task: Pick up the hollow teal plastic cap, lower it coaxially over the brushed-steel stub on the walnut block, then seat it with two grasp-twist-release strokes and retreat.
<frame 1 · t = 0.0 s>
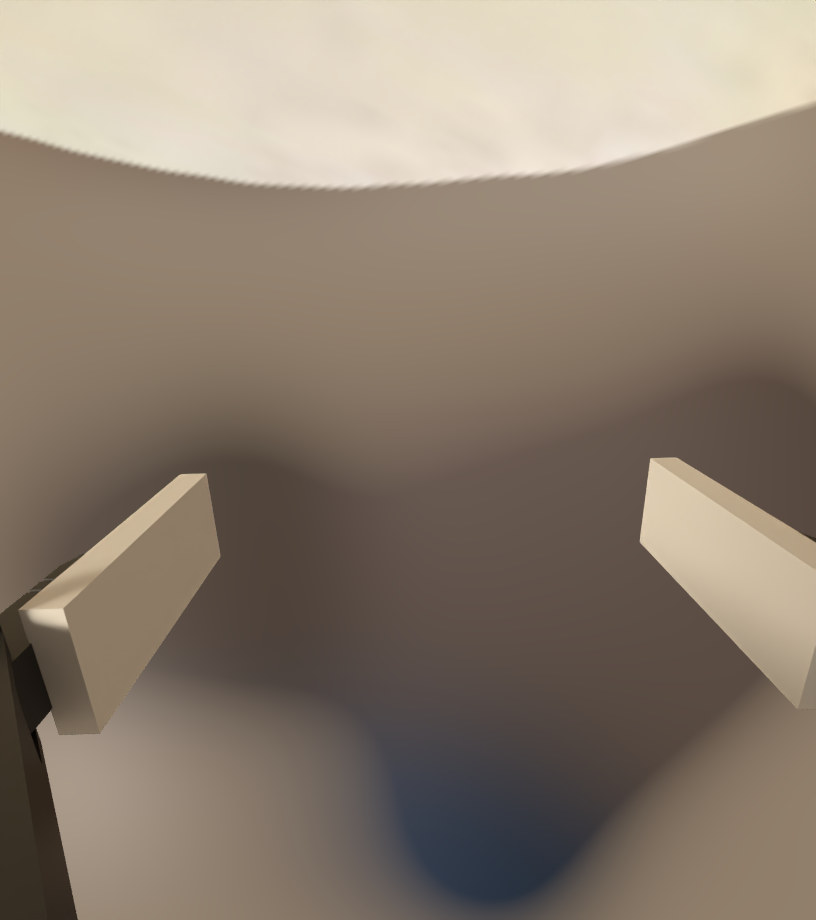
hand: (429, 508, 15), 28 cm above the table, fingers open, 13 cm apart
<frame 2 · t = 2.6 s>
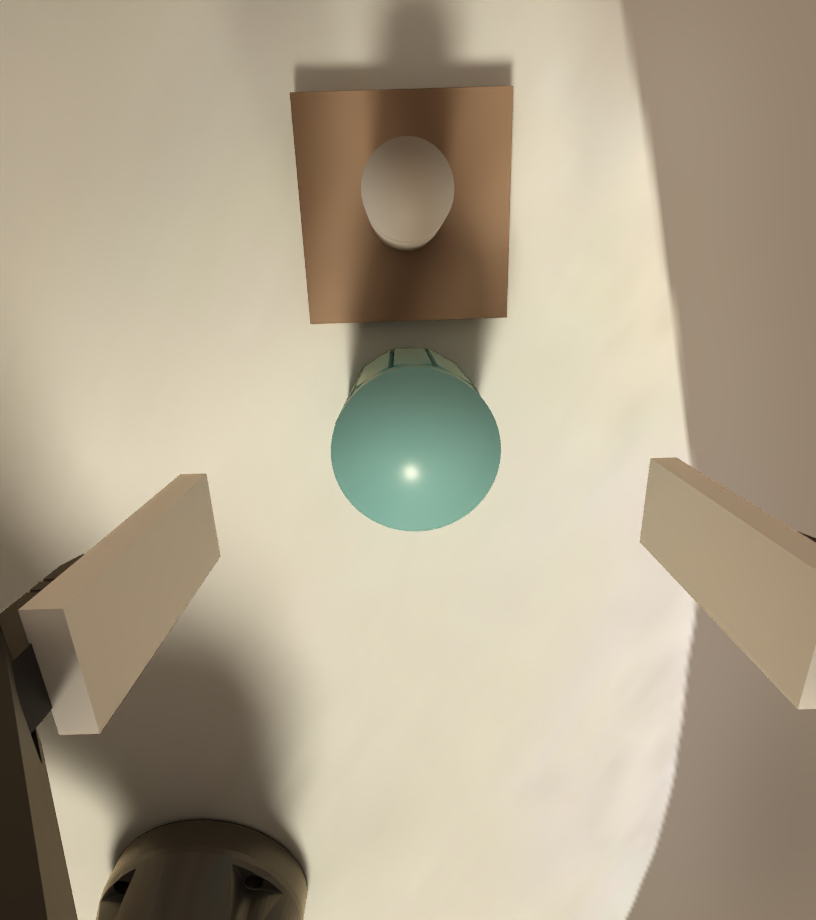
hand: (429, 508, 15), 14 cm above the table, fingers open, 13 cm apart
post base: (405, 216, 25), on the table
cap: (411, 411, 28), on the table
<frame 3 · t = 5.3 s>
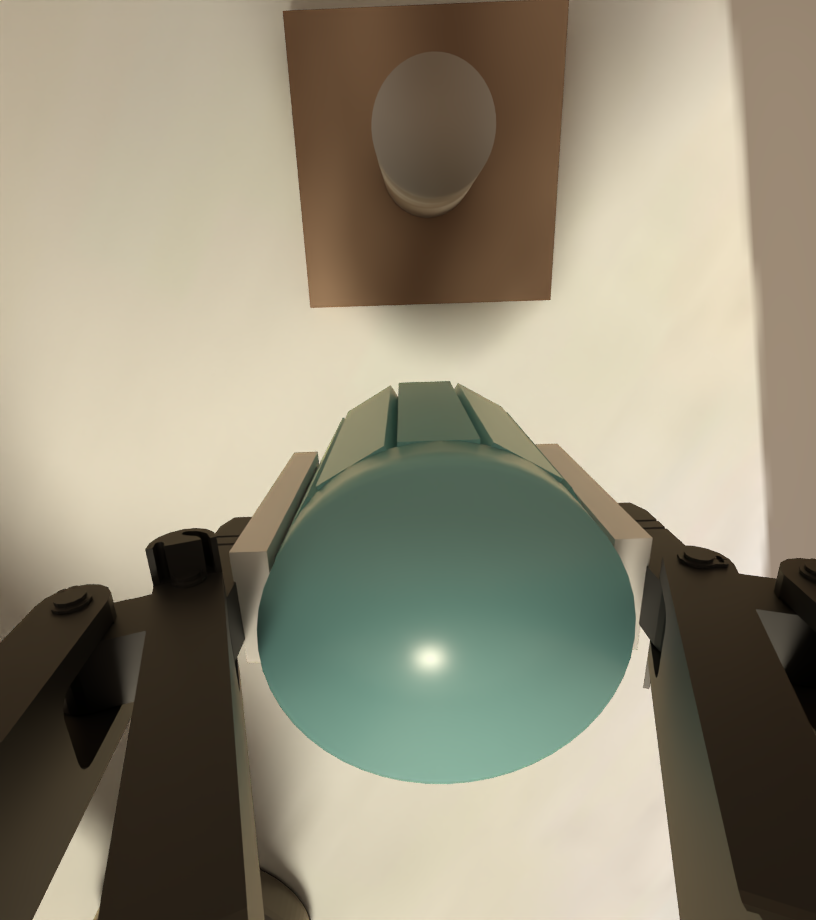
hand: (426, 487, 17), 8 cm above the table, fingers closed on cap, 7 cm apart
post base: (426, 173, 20), on the table
cap: (426, 485, 17), point 8 cm above the table, touching gripper
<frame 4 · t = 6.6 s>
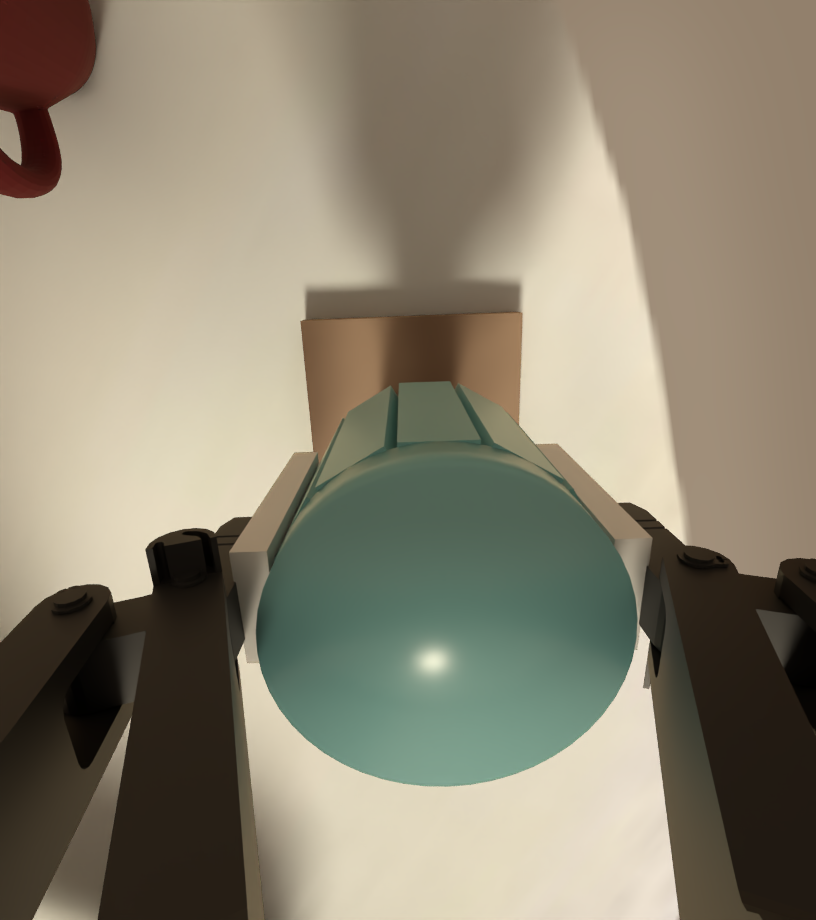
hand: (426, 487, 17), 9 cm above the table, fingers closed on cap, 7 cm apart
post base: (414, 418, 25), on the table
mug: (64, 76, 21), on the table
cap: (426, 486, 17), point 9 cm above the table, touching gripper
when the fingers open (3 cm above the table, at t = 8.4 s): cap drops 1 cm, resting on post base.
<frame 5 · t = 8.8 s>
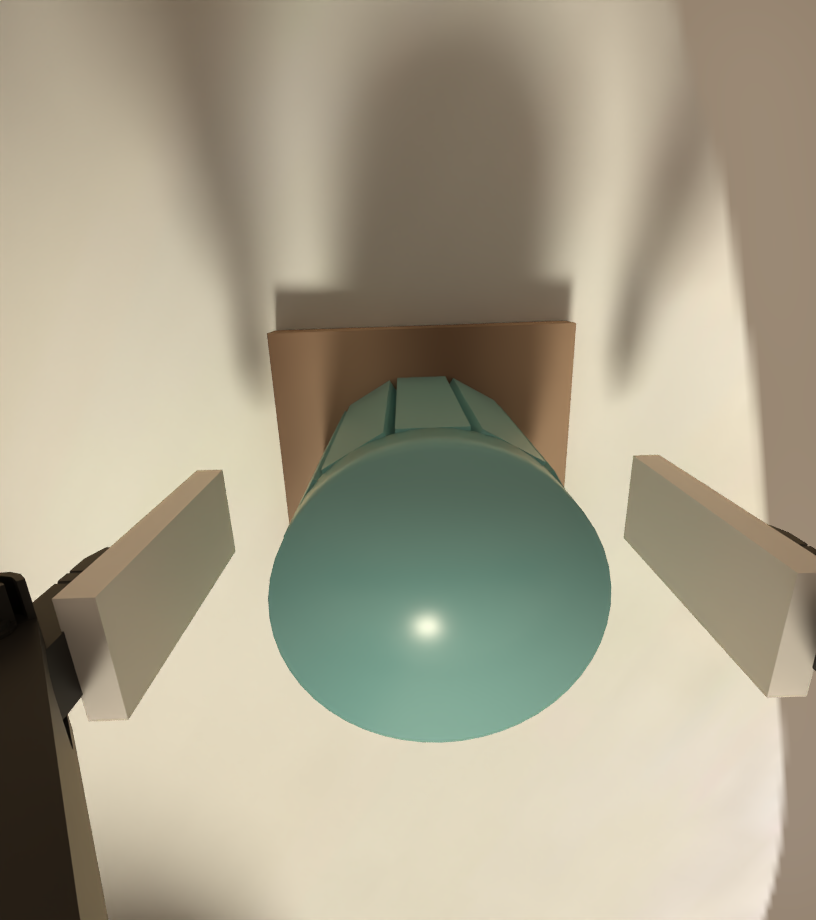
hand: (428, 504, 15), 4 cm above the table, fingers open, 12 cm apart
post base: (423, 462, 19), on the table
cap: (423, 475, 18), point 1 cm above the table, touching post base
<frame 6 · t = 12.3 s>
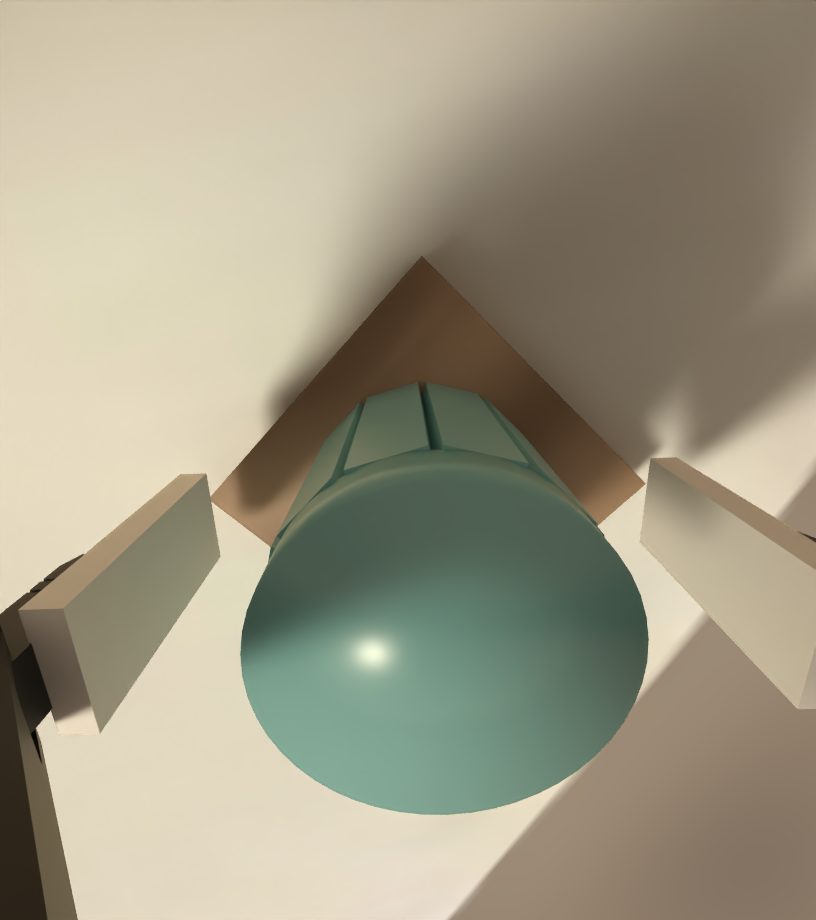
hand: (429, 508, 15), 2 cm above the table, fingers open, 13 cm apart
post base: (425, 478, 17), on the table
cap: (424, 492, 16), point 1 cm above the table, touching post base
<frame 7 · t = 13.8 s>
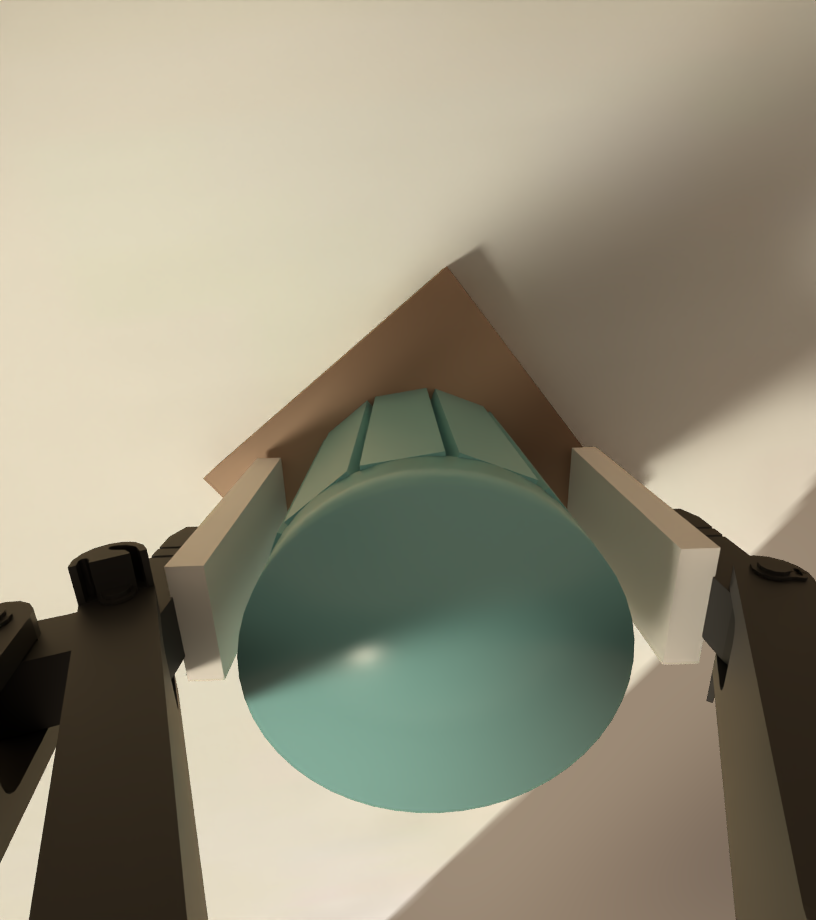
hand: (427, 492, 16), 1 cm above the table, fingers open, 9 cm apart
post base: (420, 482, 18), on the table
cap: (419, 496, 17), point 1 cm above the table, touching post base
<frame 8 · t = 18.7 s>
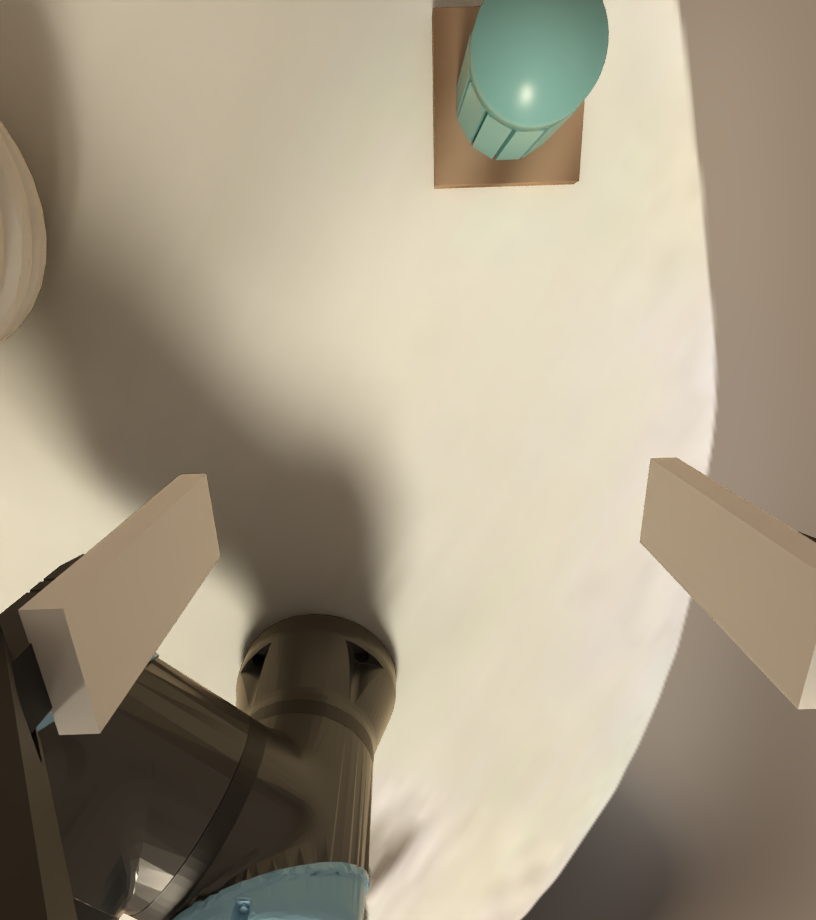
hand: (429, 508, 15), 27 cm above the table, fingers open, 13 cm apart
post base: (506, 104, 35), on the table
cap: (508, 99, 33), point 1 cm above the table, touching post base
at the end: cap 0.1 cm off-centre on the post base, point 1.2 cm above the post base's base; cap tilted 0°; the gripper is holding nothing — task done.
